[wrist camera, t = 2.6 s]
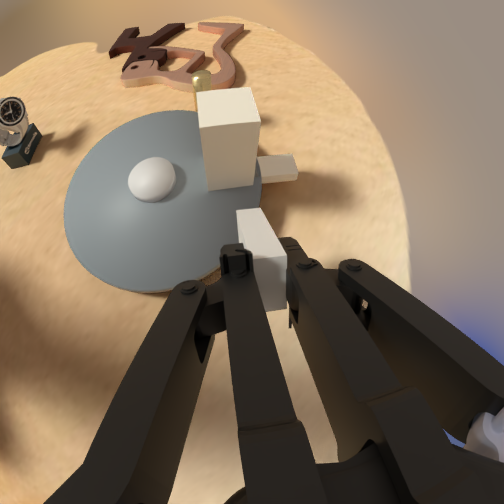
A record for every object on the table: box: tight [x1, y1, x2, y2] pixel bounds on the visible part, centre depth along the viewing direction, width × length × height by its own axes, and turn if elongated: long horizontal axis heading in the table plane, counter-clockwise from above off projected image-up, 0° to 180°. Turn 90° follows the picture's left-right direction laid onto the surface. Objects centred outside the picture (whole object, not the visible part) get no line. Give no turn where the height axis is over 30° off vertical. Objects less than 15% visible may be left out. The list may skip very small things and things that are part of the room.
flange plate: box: [64, 87, 299, 293], centre depth 20 cm, size 24×20×9 cm
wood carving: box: [109, 22, 244, 93], centre depth 35 cm, size 28×2×24 cm
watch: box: [0, 97, 42, 169], centre depth 22 cm, size 6×8×11 cm
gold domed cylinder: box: [192, 70, 212, 112], centre depth 26 cm, size 2×2×7 cm
